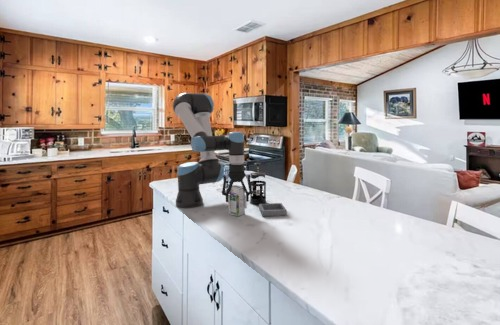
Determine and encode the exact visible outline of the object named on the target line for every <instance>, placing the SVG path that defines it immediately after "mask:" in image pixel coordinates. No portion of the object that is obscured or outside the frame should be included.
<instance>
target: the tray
mask: <svg viewBox="0 0 500 325" xmlns="http://www.w3.org/2000/svg"><path fill="white" fill-rule="evenodd" d="M258 210H259V212H260V214H261V217H262V218H267V217H268V218H269V217H270V218H271V217H287V216H288V215H287V212H288V211H287V209H286V207H285V206H284V205H283V203H282V202H278V203H277V202H276V203H274V202H273V203H272V202H271V203H266V204H259V205H258Z"/></svg>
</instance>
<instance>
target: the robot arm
mask: <svg viewBox="0 0 500 325" xmlns="http://www.w3.org/2000/svg"><path fill="white" fill-rule="evenodd" d="M214 104H215V102H214V100H213V98H212V96H211V95H209V93H203V92H200V93H197V92H195V93H194V92H182V93H180V94H178V95H177V96H175V98H174V100H173V102H172V110H173V112H174V114H175V115H176V117H179V119H180V121H181V122H182V124H183V126H184V127H185V130H186V131H187V132H188V134H189V136H190V137H191V139H190V146H191V150H192V151H193V152H196V153H197V152H198V153H200V159H199V161H198V162H197V161H191V162H189V161H188V162H184V163H181V164H179V165H178V167H177V172H176V175H177V187H178V188H177V190H178V192H177V195H176V198H175V206H176V207H178V208H183V209H185V208H187V209H188V208H195V207H199V206H202V205H203V204H204V200H203V197H202V193H201V191H200V186H201V185H206V184H214V183H219V182H222V179H223V184H222V191H221V195H222V196H225V203H227V209H228V210H230V190H231V187H232V186H233V185H234V183H241V184H240V185H241V186H243V188H244V191H245V210H246V209H247V207H248V206H247V203H248V202H250V198H249V196H250V194H252V188H251V175H250V174H251V173H248V174H247V173H245V134H244V132H243V131H231V132H228V134H220V135H213V132H212V126H211V120H210V117H212V113H213V112H214V110H215V109H214V107H215V105H214ZM215 151H228V163H229V165H228V174H225V167H224V164H223V162H221V161H220V160H219V158H218V157H217V156H216V152H215ZM228 178H229V179H230V183H229V185H228V187H227V190H226V185H227V180H228ZM245 178H246V180H247V186H248V189H247V187H246V184H245V182H244V179H245ZM252 195H253V194H252Z"/></svg>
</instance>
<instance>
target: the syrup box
mask: <svg viewBox="0 0 500 325" xmlns="http://www.w3.org/2000/svg"><path fill="white" fill-rule="evenodd" d="M229 195H230V209H229V215H231V216H234V217H235V216H236V217H240V216H242V215H244V214H246V211H245V210H246V209H245V195H246V193H245V191H244V188H243V186H242V185H238V184H233V185H232V187H231V190H230V192H229Z"/></svg>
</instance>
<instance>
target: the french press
mask: <svg viewBox="0 0 500 325" xmlns="http://www.w3.org/2000/svg"><path fill="white" fill-rule="evenodd" d="M254 165H256V167H257V168H259V167H260V165H262V163H261V162H256V163H255V162H254ZM249 174H250V176H251V177H250V179H253V180H252V181H251V180H250V182H251V188H252V194H250V195H249V196H250V198H249V203H250V204H251V205H254V206H259V204H267V197H266V196H267V194H266V192H267V191H266V187H267V182H266V181H264V180H257V179H258V178H259V177H263V178H264V179H266V175H267V173H265V172H259V171H257V172H251V173H249ZM258 187H259V189H258Z"/></svg>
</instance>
